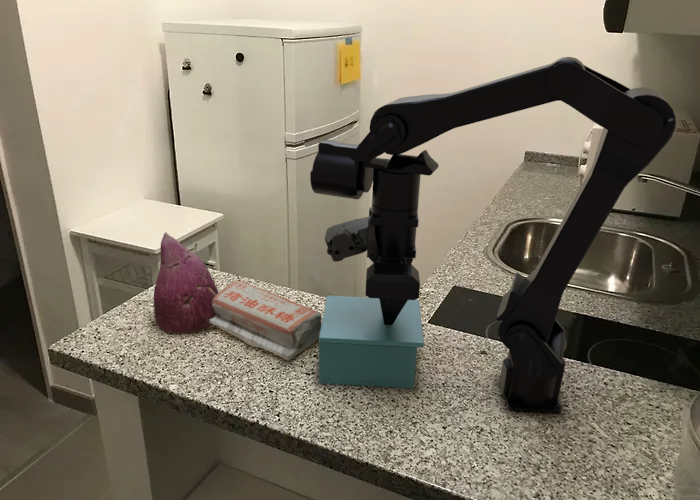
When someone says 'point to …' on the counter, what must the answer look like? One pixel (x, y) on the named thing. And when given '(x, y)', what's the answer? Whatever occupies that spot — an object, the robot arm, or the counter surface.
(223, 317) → the packaged product
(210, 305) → the vegetable
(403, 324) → the freezer lid
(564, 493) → the counter surface
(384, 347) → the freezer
